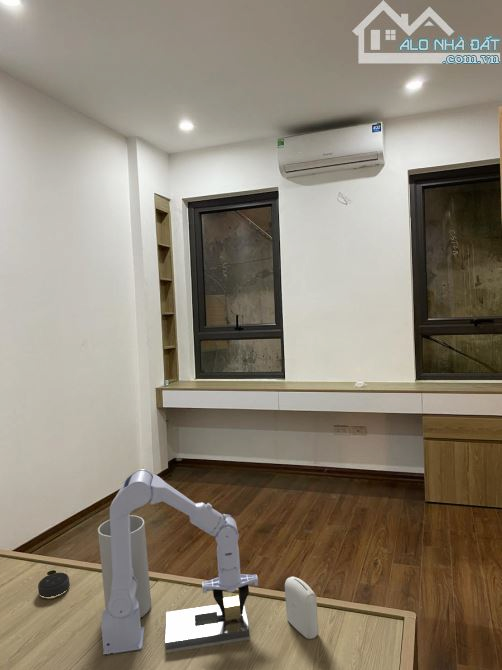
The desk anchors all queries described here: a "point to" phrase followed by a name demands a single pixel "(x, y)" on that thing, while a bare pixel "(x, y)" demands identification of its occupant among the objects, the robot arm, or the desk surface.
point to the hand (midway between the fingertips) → (232, 613)
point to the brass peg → (232, 608)
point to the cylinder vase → (137, 561)
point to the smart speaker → (53, 584)
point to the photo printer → (301, 607)
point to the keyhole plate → (203, 628)
